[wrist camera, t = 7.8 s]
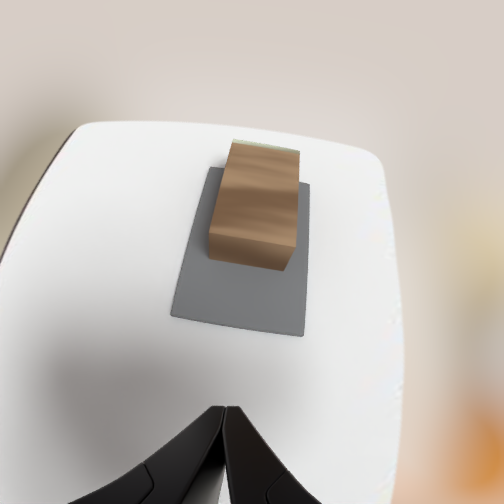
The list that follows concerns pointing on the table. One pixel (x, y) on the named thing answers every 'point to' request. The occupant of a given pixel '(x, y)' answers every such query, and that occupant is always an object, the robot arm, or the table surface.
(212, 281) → the felt mat
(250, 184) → the walnut block
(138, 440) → the table surface
